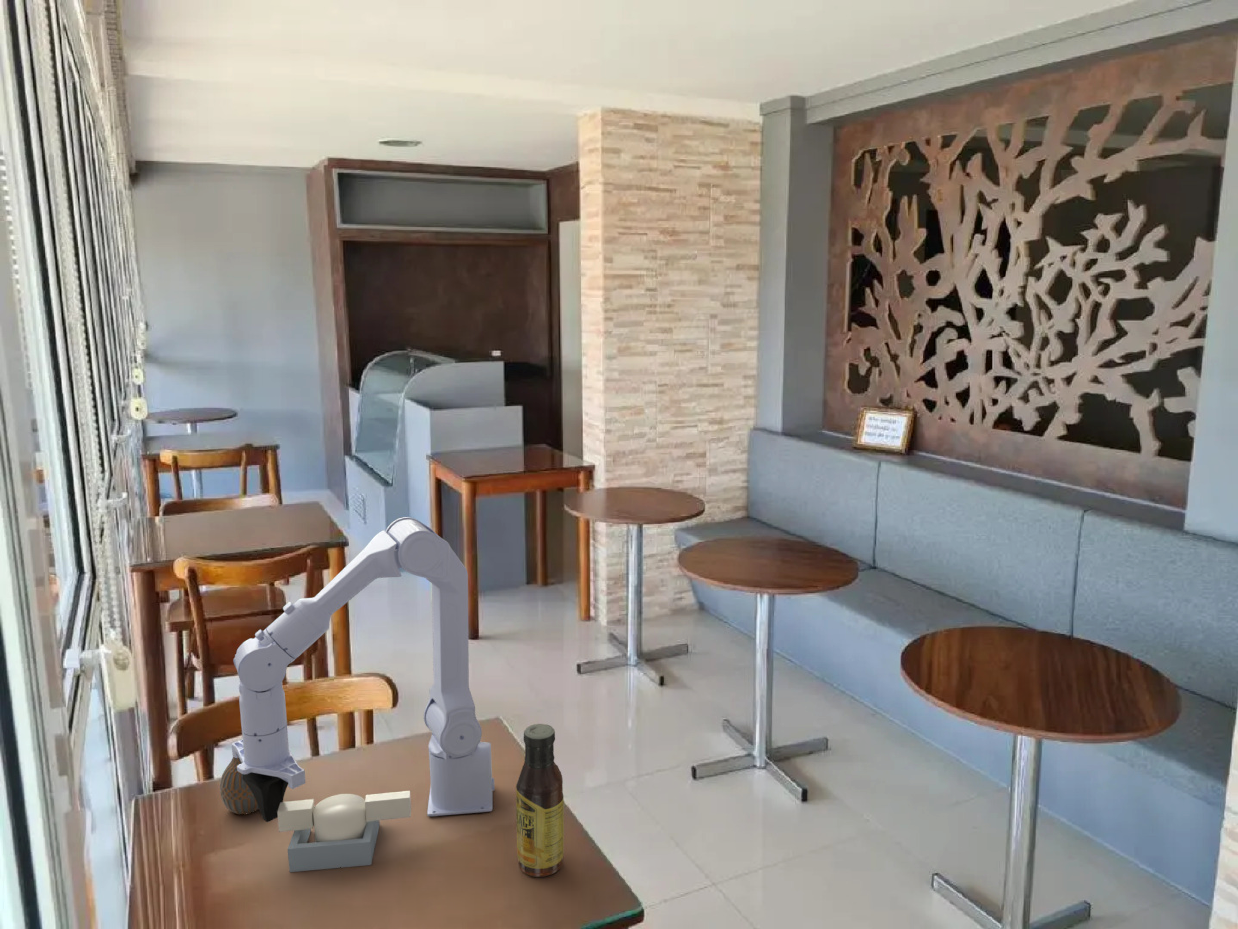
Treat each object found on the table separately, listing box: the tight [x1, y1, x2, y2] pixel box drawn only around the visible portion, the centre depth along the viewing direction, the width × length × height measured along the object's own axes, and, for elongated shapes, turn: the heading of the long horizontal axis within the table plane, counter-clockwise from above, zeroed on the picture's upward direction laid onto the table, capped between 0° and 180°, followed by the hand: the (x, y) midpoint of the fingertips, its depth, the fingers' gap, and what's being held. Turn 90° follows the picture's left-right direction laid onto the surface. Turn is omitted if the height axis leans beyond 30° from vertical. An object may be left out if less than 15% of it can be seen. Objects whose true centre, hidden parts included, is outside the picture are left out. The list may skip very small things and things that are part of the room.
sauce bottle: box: [515, 723, 565, 878], centre depth 122 cm, size 6×6×20 cm
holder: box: [287, 820, 380, 873], centre depth 128 cm, size 11×10×3 cm
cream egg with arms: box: [277, 790, 412, 842], centre depth 128 cm, size 17×7×7 cm, turn 100°
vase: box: [219, 756, 259, 815], centre depth 138 cm, size 7×7×9 cm
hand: (272, 818), depth 127 cm, fingers closed
